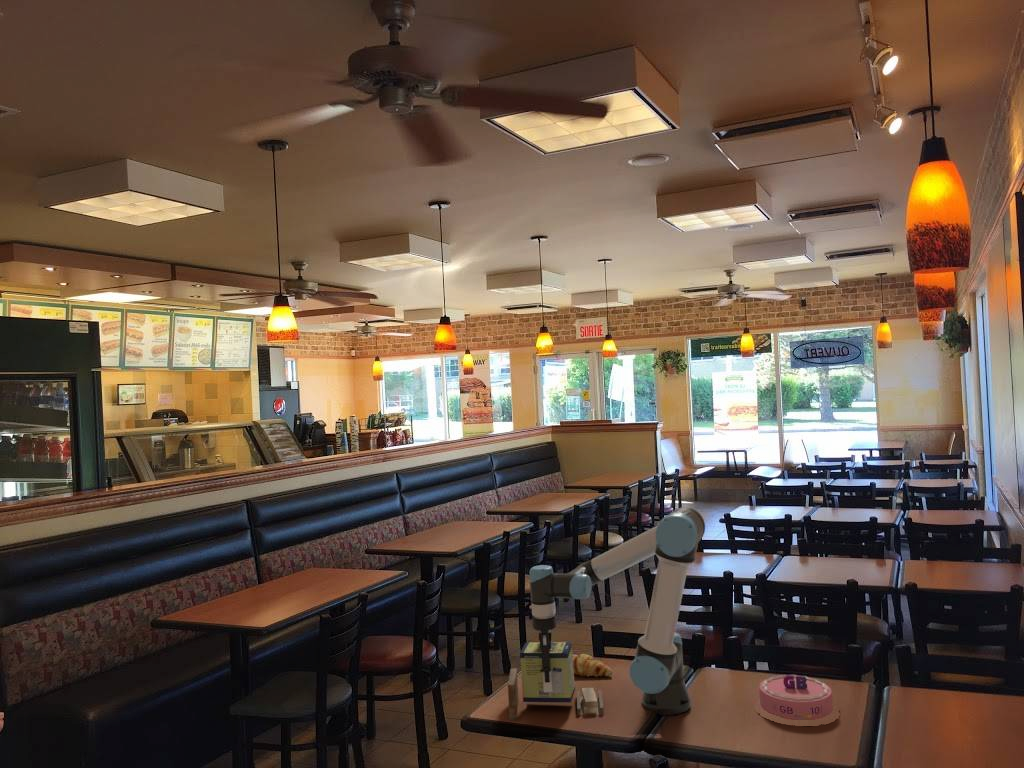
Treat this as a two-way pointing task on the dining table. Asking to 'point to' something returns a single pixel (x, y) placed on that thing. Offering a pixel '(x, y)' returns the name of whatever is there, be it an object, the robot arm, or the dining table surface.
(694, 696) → the dining table surface
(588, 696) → the offcut stack
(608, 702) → the dining table surface
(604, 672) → the croissant
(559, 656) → the protein box
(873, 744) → the dining table surface
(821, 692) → the cake
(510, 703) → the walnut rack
